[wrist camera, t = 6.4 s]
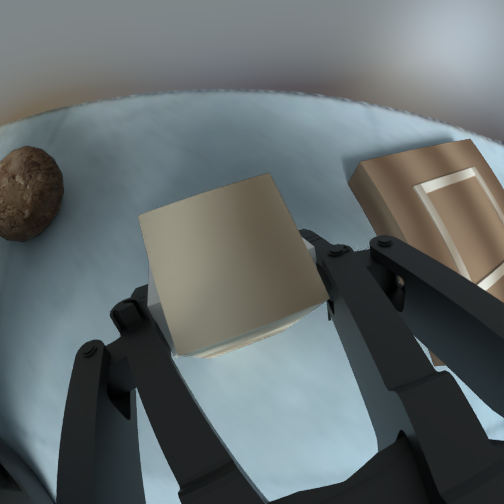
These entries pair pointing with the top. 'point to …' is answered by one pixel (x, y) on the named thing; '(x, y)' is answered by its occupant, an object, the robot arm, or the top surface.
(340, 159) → the top surface
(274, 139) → the top surface
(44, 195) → the mushroom
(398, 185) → the base board
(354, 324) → the robot arm
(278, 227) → the beech pillar
